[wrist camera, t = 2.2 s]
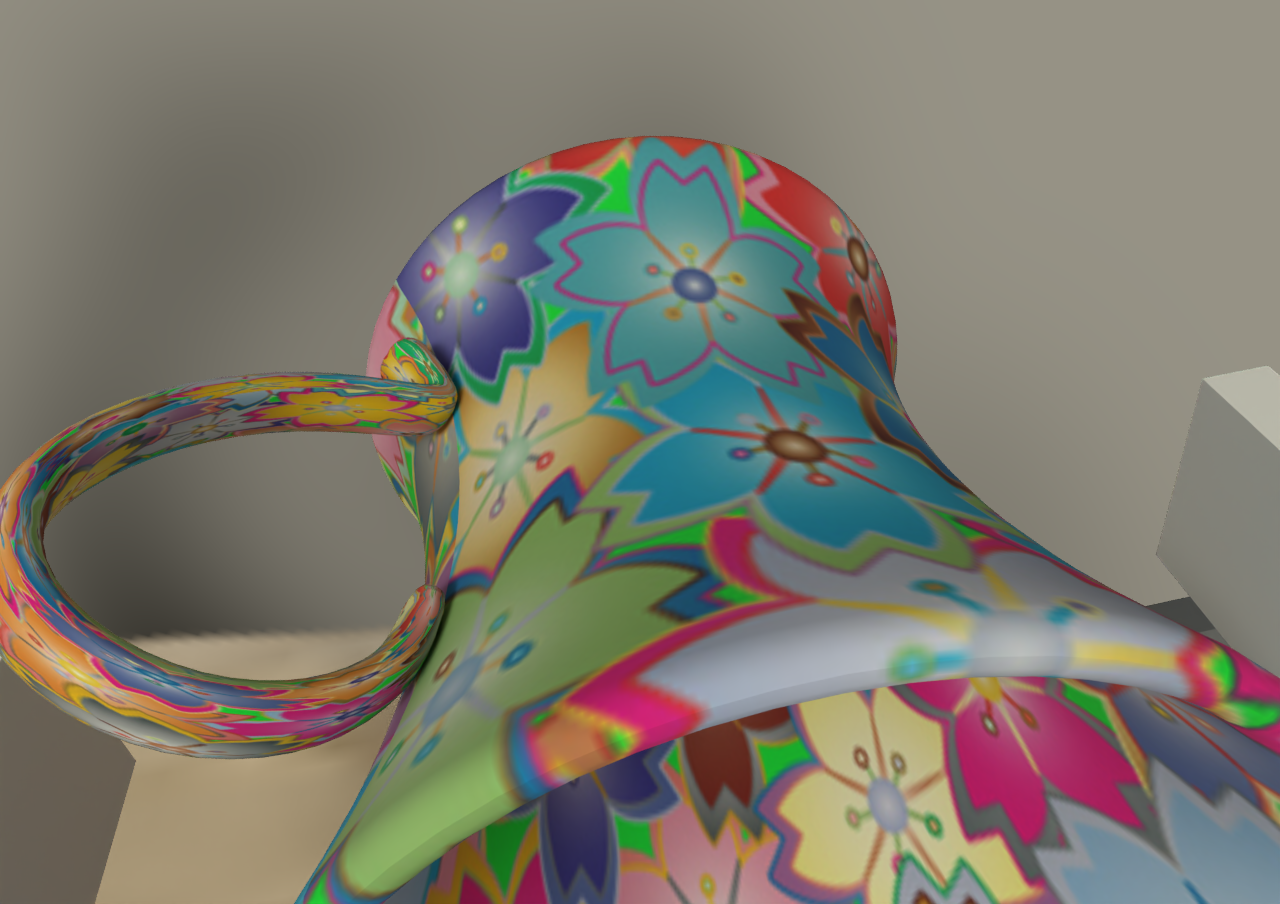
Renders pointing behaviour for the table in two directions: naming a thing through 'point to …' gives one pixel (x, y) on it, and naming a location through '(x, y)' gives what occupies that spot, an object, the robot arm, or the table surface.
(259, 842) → the table surface
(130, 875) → the table surface
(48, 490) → the mug
